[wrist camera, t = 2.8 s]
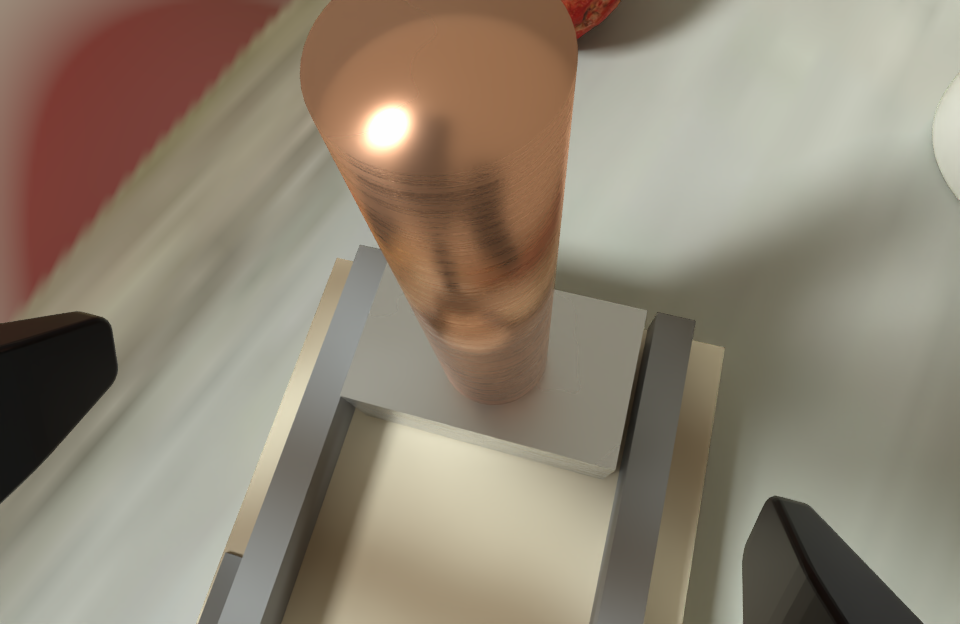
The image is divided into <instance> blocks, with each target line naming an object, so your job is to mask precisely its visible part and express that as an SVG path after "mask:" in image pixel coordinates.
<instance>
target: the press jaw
mask: <svg viewBox="0 0 960 624" xmlns="http://www.w3.org/2000/svg"><path fill="white" fill-rule="evenodd" d="M577 61H578V45H577V37H576V32H575V29H574V25H573V22H572V19H571V17H570V15H569V13H568V11H567V9H566V7H565V5H564V4H563V3H562V1H561V0H331V1H330V2H329V4H328V5H327V6H326V7H325V8H324V9H323V11H322V12H321V14H320V15H319V16H318V18H317V19H316V21H315V23H314V24H313V26H312V28H311V30H310V32H309V34H308V37H307V39H306V42H305V45H304V48H303V53H302V57H301V65H300V81H301V90H302V93H303V97H304V101H305V104H306V106H307V108H308V110H309V113H310V115H311V117H312V119H313V121H314V123H315V125H316V126H317V128H318V130H319V132H320V134H321V136H322V138H323V140H324V142H325V144H326V146H327V148H328V149H329V151H330V153H331V155H332V157H333V159H334V161H335V163H336V165H337V167H338V169H339V171H340V172H341V174H342V176H343V178H344V180H345V182H346V184H347V186H348V188H349V190H350V192H351V193H352V195H353V197H354V199H355V201H356V203H357V205H358V207H359V209H360V211H361V213H362V215H363V216H364V218H365V220H366V222H367V224H368V226H369V228H370V230H371V232H372V234H373V236H374V238H375V239H376V241H377V243H378V245H379V247H380V249H381V251H382V253H383V255H384V257H385V259H386V260H387V264H386V267H385V270H384V273H383V275H382V278H381V281H380V284H379V287H378V289H377V292H376V295H375V298H374V301H373V303H372V306H371V309H370V312H369V315H368V318H367V320H366V323H365V326H364V329H363V332H362V334H361V337H360V340H359V343H358V346H357V348H356V351H355V354H354V357H353V360H352V363H351V365H350V368H349V371H348V374H347V377H346V379H345V382H344V385H343V388H342V391H341V393H340V396H341V397H342V398H344V399H345V400H346V401H348V402H349V403H350V404H352V405H353V406H355V407H356V408H357V409H359V410H360V411H361V412H363V413H364V414H366V415H368V416H372V417H375V418H379V419H383V420H386V421H390V422H394V423H397V424H401V425H405V426H408V427H412V428H415V429H419V430H423V431H426V432H430V433H434V434H437V435H441V436H445V437H448V438H452V439H456V440H459V441H463V442H467V443H470V444H474V445H478V446H481V447H485V448H488V449H492V450H496V451H499V452H503V453H507V454H510V455H514V456H518V457H521V458H525V459H529V460H532V461H536V462H540V463H543V464H547V465H550V466H554V467H558V468H561V469H565V470H569V471H572V472H576V473H580V474H583V475H587V476H591V477H594V478H598V479H602V480H603V479H604V478H606V477H607V476H608V475H610V474H611V473H612V472H614V471H615V470H616V465H617V460H618V455H619V450H620V445H621V440H622V435H623V430H624V425H625V420H626V415H627V410H628V405H629V400H630V395H631V390H632V385H633V380H634V375H635V370H636V365H637V360H638V355H639V350H640V345H641V340H642V335H643V330H644V325H645V320H646V315H647V310H644V309H639V308H635V307H631V306H626V305H622V304H617V303H613V302H609V301H604V300H600V299H595V298H591V297H586V296H582V295H578V294H573V293H569V292H564V291H560V290H556V289H554V286H555V276H556V267H557V257H558V247H559V237H560V228H561V218H562V208H563V198H564V189H565V179H566V169H567V159H568V150H569V140H570V130H571V120H572V111H573V101H574V91H575V82H576V72H577Z"/></svg>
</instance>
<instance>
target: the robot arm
mask: <svg viewBox="0 0 960 624" xmlns="http://www.w3.org/2000/svg"><path fill="white" fill-rule="evenodd" d="M117 372H118V363H117V357H116V351H115V344H114V338H113V332H112V327H111V325H110V323H109V322H108V320H106V319H105V318H103V317H100V316H96V315H92V314H89V313H85V312H78V311H76V312H68V313H62V314H56V315H50V316H44V317H38V318H31V319H25V320H19V321H13V322H7V323H0V504H1V503H2V502H3V501H4V500H5V499H6V498H7V497H8V496H9V495H10V494H11V493H12V492H14V491H15V490H16V489H17V488H18V487H19V486H20V485H21V484H22V483H23V482H24V481H25V480H26V479H27V478H28V477H29V476H30V475H31V474H32V473H33V472H34V471H35V470H36V469H37V468H38V467H39V466H40V465H41V464H42V463H43V462H44V461H45V460H46V459H47V458H48V456H49V455H50V454H51V453H52V452H53V451H54V450H55V449H56V448H57V446H58V445H59V444H60V443H61V442H62V441H63V440H64V439H65V437H66V436H67V435H68V434H69V433H70V432H71V431H72V430H73V428H74V427H75V426H76V425H77V424H78V423H79V422H80V420H81V419H82V418H83V417H84V416H85V415H86V414H87V413H88V411H89V410H90V409H91V408H92V407H93V406H94V405H95V404H96V402H97V401H98V400H99V399H100V398H101V397H102V396H103V395H104V393H105V392H106V391H107V390H108V389H109V388H110V387H111V385H112V384H113V382H114V381H115V379H116V376H117ZM742 582H743V624H923V623H922V621H921V620H920V619H919V618H918V617H917V616H916V615H915V614H914V613H913V612H912V611H911V610H910V609H909V608H908V607H907V606H906V605H905V604H904V603H903V602H902V601H901V600H900V599H899V598H898V597H897V596H896V595H895V593H894V592H893V591H892V590H891V589H890V588H889V587H888V586H887V585H886V584H885V583H884V582H883V581H882V580H881V579H880V578H879V577H878V576H877V575H876V574H875V573H874V572H873V571H872V570H871V569H870V568H869V566H868V565H867V564H866V563H865V562H864V561H863V560H862V559H861V558H860V557H859V556H858V555H857V554H856V553H855V552H854V551H853V550H852V549H851V548H850V547H849V546H848V545H847V544H846V543H845V542H844V541H843V540H842V538H841V537H840V536H839V535H838V534H837V533H836V532H835V531H834V530H833V529H832V528H831V527H830V526H829V525H828V524H827V523H826V522H825V521H824V520H823V519H822V518H821V517H820V516H819V515H818V514H817V513H816V512H815V510H814V509H812V508H811V507H810V506H809V505H807V504H805V503H802V502H798V501H794V500H791V499H787V498H783V497H779V496H773V497H770V498H769V499H768V500H767V501H766V502H765V504H764V506H763V508H762V510H761V512H760V514H759V516H758V519H757V521H756V523H755V525H754V527H753V529H752V531H751V534H750V536H749V538H748V540H747V542H746V545H745V548H744V553H743V560H742Z"/></svg>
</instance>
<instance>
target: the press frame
mask: <svg viewBox="0 0 960 624" xmlns="http://www.w3.org/2000/svg"><path fill="white" fill-rule="evenodd" d="M386 264H387V260H386V259H385V257H384V255H383V253H382V251H381V249H377V248H372V247H368V246H364V245H360V246H359V248H358V251H357V254H356V256H355V259H354V262H353V261H349V260H345V259H340V258H337V259H336V262H335V264H334V267H333V269H332V272H331V275H330V277H329V280H328V282H327V285H326V288H325V290H324V293H323V295H322V298H321V300H320V303H319V306H318V308H317V311H316V313H315V316H314V319H313V321H312V324H311V326H310V329H309V332H308V334H307V337H306V339H305V342H304V345H303V347H302V350H301V352H300V355H299V358H298V360H297V363H296V365H295V368H294V371H293V373H292V376H291V378H290V381H289V383H288V386H287V389H286V391H285V394H284V396H283V399H282V402H281V404H280V407H279V409H278V412H277V415H276V417H275V420H274V422H273V425H272V428H271V430H270V433H269V435H268V438H267V441H266V443H265V446H264V448H263V451H262V454H261V456H260V459H259V461H258V464H257V466H256V469H255V472H254V474H253V477H252V479H251V482H250V485H249V487H248V490H247V492H246V495H245V498H244V500H243V503H242V505H241V508H240V511H239V513H238V516H237V518H236V521H235V524H234V526H233V529H232V531H231V534H230V537H229V539H228V542H227V544H226V547H225V549H224V552H223V555H222V557H221V560H220V562H219V565H218V568H217V570H216V573H215V575H214V578H213V581H212V583H211V586H210V588H209V591H208V594H207V596H206V599H205V601H204V604H203V607H202V609H201V612H200V614H199V617H198V620H197V622H196V624H682V623H683V616H684V610H685V603H686V597H687V590H688V584H689V577H690V571H691V564H692V558H693V551H694V545H695V539H696V532H697V526H698V519H699V513H700V506H701V500H702V493H703V487H704V480H705V474H706V467H707V461H708V454H709V448H710V441H711V435H712V428H713V422H714V415H715V409H716V402H717V396H718V389H719V383H720V376H721V370H722V364H723V357H724V351H725V347H720V346H716V345H712V344H707V343H703V342H699V341H694V340H692V339H693V333H694V327H695V322H696V321H695V320H691V319H686V318H682V317H677V316H673V315H668V314H664V313H660V312H657V314H656V316H655V318H654V319H653V321H652V323H651V325H650V326H649V328H648V330H647V329H644V330H643V335H642V340H641V345H640V350H639V355H638V360H637V365H636V370H635V375H634V380H633V385H632V390H631V395H630V400H629V405H628V410H627V415H626V420H625V425H624V430H623V435H622V440H621V445H620V450H619V455H618V460H617V465H616V470H615V471H614V472H612V473H611V474H610V475H608V476H607V477H606V478H604V479H603V480H602V479H598V478H594V477H591V476H587V475H583V474H580V473H576V472H572V471H569V470H565V469H561V468H558V467H554V466H550V465H547V464H543V463H540V462H536V461H532V460H529V459H525V458H521V457H518V456H514V455H510V454H507V453H503V452H499V451H496V450H492V449H488V448H485V447H481V446H478V445H474V444H470V443H467V442H463V441H459V440H456V439H452V438H448V437H445V436H441V435H437V434H434V433H430V432H426V431H423V430H419V429H415V428H412V427H408V426H405V425H401V424H397V423H394V422H390V421H386V420H383V419H379V418H375V417H372V416H368V415H366V414H364V413H363V412H361V411H360V410H359V409H357V408H356V407H355V406H353V405H352V404H350V403H349V402H348V401H346V400H345V399H344V398H342V397H341V396H340V393H341V391H342V388H343V385H344V382H345V379H346V377H347V374H348V371H349V368H350V365H351V363H352V360H353V357H354V354H355V351H356V348H357V346H358V343H359V340H360V337H361V334H362V332H363V329H364V326H365V323H366V320H367V318H368V315H369V312H370V309H371V306H372V303H373V301H374V298H375V295H376V292H377V289H378V287H379V284H380V281H381V278H382V275H383V273H384V270H385V267H386Z"/></svg>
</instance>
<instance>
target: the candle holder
mask: <svg viewBox="0 0 960 624" xmlns="http://www.w3.org/2000/svg"><path fill="white" fill-rule="evenodd" d="M932 143H933V150H934V154H935V158H936V161H937V164H938V167H939V169H940V171H941V174H942V176H943V178H944V179H945V181H946V183H947V185H948V186H949V188H950V189H951V191H952V192H953V193H954V195H955V196H956V197H957V199H958V200H959V201H960V71H959V73H958V74H957V75H956V77H955V78H954V79H953V81H952V82H951V83H950V85H949V86H948V88H947V89H946V91H945V92H944V94H943V96H942V98H941V100H940V102H939V104H938V106H937V109H936V112H935V115H934V120H933V126H932Z"/></svg>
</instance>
